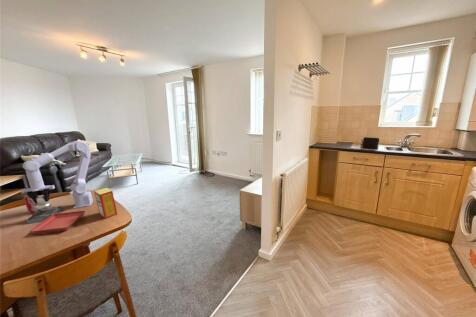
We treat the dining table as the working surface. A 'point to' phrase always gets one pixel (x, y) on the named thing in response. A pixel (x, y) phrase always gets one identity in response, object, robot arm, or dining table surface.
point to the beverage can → (30, 204)
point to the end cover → (42, 203)
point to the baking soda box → (105, 202)
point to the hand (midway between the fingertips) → (42, 201)
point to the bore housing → (37, 216)
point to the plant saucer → (58, 222)
